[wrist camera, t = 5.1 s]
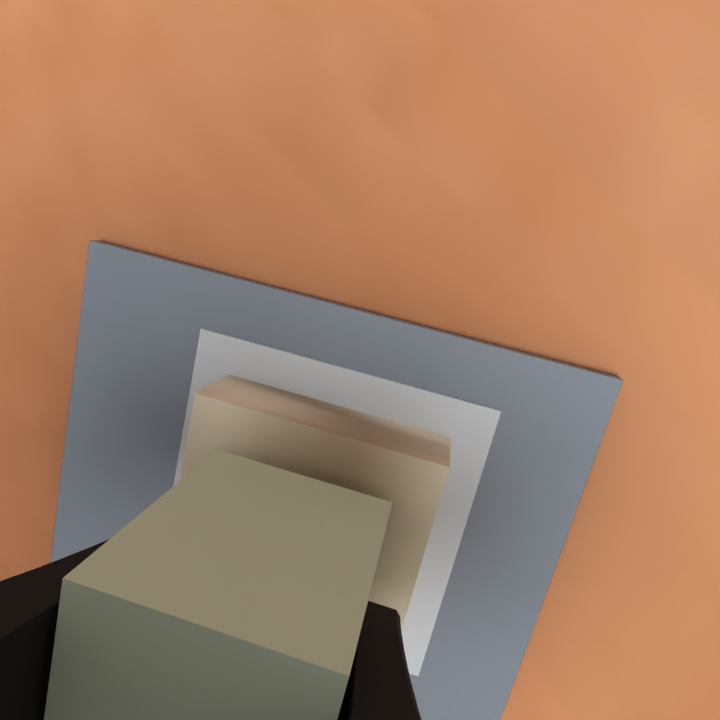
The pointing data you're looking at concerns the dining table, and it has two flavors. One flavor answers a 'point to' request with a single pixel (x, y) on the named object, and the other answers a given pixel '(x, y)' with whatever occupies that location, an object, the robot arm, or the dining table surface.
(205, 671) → the green block
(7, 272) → the dining table surface
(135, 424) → the building mat
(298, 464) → the base block
